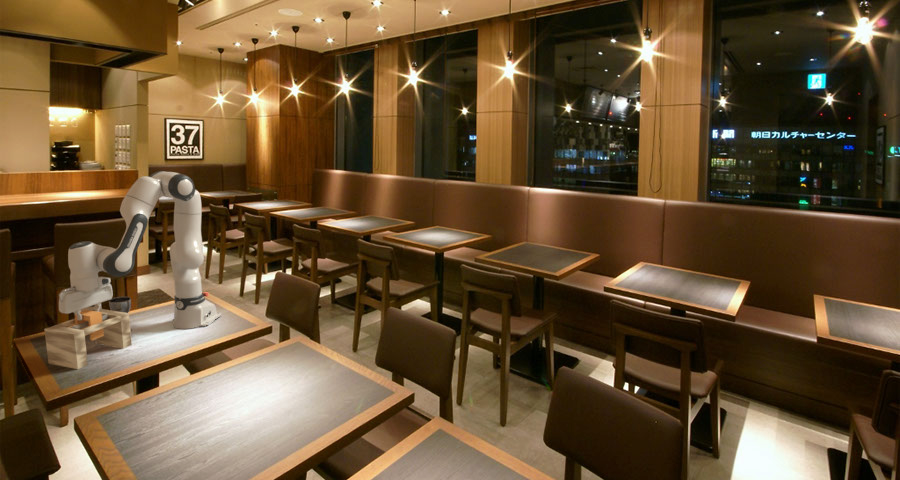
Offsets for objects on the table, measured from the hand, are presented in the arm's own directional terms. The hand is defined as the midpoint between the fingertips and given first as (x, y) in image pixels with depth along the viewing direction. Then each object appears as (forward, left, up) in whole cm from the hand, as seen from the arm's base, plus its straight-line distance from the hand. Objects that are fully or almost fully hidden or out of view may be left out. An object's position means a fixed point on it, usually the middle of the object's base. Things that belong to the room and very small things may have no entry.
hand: (88, 317), depth 200 cm
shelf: (0, 0, -16) cm, 16 cm away
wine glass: (-22, -8, -16) cm, 28 cm away
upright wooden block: (0, 0, -8) cm, 8 cm away
